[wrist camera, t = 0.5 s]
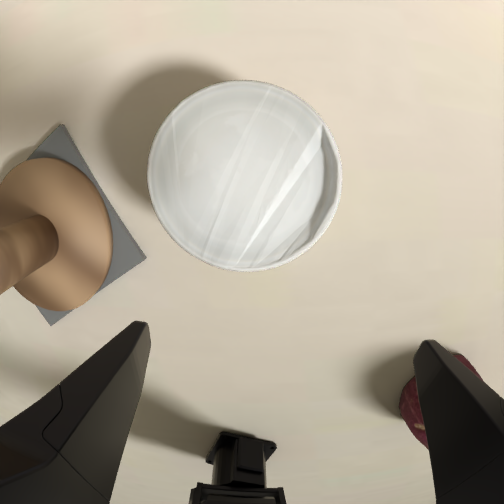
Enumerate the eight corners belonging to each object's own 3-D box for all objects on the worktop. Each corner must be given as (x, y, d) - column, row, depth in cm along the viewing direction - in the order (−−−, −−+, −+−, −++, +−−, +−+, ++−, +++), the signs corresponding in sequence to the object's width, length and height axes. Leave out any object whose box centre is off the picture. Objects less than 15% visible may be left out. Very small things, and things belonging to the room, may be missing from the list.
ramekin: (321, 246, 24) (339, 271, 19) (174, 249, 24) (155, 274, 19) (322, 96, 20) (342, 81, 15) (166, 100, 20) (143, 87, 15)
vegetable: (468, 351, 31) (551, 410, 17) (425, 417, 33) (494, 484, 19) (429, 341, 27) (536, 420, 14) (377, 421, 29) (458, 511, 15)
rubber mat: (146, 257, 24) (144, 260, 23) (53, 323, 26) (50, 326, 25) (64, 125, 21) (60, 124, 20) (-14, 214, 23) (-18, 216, 22)
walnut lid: (99, 327, 25) (38, 411, 15) (-5, 272, 24) (-79, 322, 13) (131, 183, 22) (41, 214, 11) (11, 142, 20) (-86, 153, 9)
